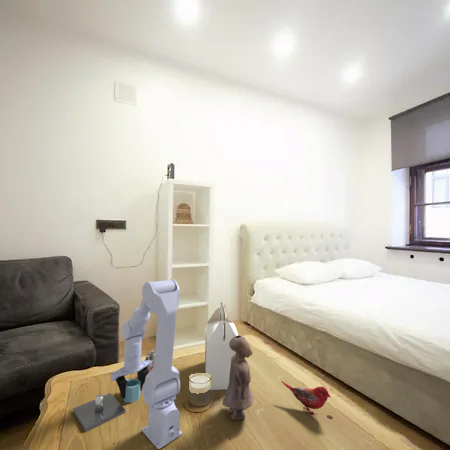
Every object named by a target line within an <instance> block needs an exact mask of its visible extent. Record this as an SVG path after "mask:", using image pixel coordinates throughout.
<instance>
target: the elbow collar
mask: <svg viewBox="0 0 450 450" xmlns="http://www.w3.org/2000/svg"><path fill="white" fill-rule="evenodd" d="M125 379H126V380H127V384H126V395H125V398H124V399H123V398H122V397H121V398H122V401H123V402H124V403H129V404H130V403H134V402H136V401H138V400H139V399H140V397H141V393H142V391H141V381H140V380H139V379H138V378H129V379H128V378H125Z"/></svg>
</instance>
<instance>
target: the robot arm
mask: <svg viewBox="0 0 450 450" xmlns="http://www.w3.org/2000/svg"><path fill="white" fill-rule="evenodd" d="M141 290H142V291H141V294H142V295H141V296H142V299H141V302H140V304H139V306H138V307H135V309H134V310H133V312H132V313H131V316H130V317H129V319H128V320H126V321H123V322H122V323H123V324H122V328H121V329H122V330H121V332H122V336H123V338H124V349H123V350H124V355H123V356H124V357H123V366H122V367H121V368H119V369H117V370H116V371H115V370H114V372H111V373H110V381H111V382H115V381H116V385H117V387H118V389H119V393H120V397H121V398H123V399H124V398H125V395H126V384H127V380H126V379H127V378H126V376H128V375H133V374H136V373H137V374H136V375H137V376H136V377H137V379H139V380H140V381H141V393H142V399H143V401H144V403H145V405H146V406H147V407H148V419H147V420H148V422H147V425H145V426H144V427H143V428H141V431H142V433H143V435H145V436H146V437H147V439H148V440H149V441H150V442H151V443H152V444H153V445H154V446H155V448H156V449H158V450H159V449H161V448H164V447H165V446H166V445H168V444H169V443H171V442H173V441H174V440H175V439H177V438H179V437H181V436H182V434H183V431H182V430H181V428H180V427H181V422H180V421H181V414H180V413H181V412H180V411H179V409H178V408H177V406H176V404H175V400H176V399H177V395H179V393H180V390H181V380H180V372H179V370H178V369H177V368H176V367H175V366H173V357H174V348H175V347H174V345H175V344H174V343H175V334H176V323H177V322H176V321H177V312H178V311H177V309H178V308H179V303H180V293H181V288H180V286H179V284H178V282H177V280H176V279H174V278H171V279H167V280H158V281H157V280H156V281H146V282H144V284H143V286H142V289H141ZM150 312H151V313H153V314H155V315H157V326H156V337H155V349H154V350H155V353H154V355H155V359H154V367H153V369H152V370H151V371H150V372H149V370H148V369H147V367H152V361H151V360H146V359H145V360H146V361H145V360H142V341H143V340H144V335H145V333H146V328H145V327H146V325H147V322H148V321H149V319H150V317H151V313H150ZM144 381H145V383H144Z"/></svg>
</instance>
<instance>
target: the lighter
mask: <svg viewBox="0 0 450 450" xmlns="http://www.w3.org/2000/svg"><path fill="white" fill-rule="evenodd" d="M154 359H155V349H152V350H150V352H147V354H146V356H145V359H144V361H146V360H151V361H152V367H147V369H148V370H149V372H150V371H151V370H152V369H153V367H154ZM144 383H145V381H144Z"/></svg>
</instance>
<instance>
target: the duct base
mask: <svg viewBox="0 0 450 450" xmlns="http://www.w3.org/2000/svg"><path fill="white" fill-rule="evenodd" d="M72 413H73V415H74V416H75V418H76V419H77V421H78V423H79V425H80V426H81V428H82V429H83V431H84V433H87V432H88V431H90V430H93V429H94V428H97V427H99V426H100V425H103V424H104V423H107V422H108V421H110V420H111V421H112V420H113V419H114V418H117V417H119V416H122V415H123V414H125V413H126V409H125V408H124V406H123V405H122V404H121V403H120V402H119V401H118V400H117V399H116V397H114V395H113V394H112V393H111V392H109V393H106V394H103V393H99V394H97V395H95V399H93V400H90V401H88V402H85V403H83V404H81V405H79V406H76V407H73V408H72Z"/></svg>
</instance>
